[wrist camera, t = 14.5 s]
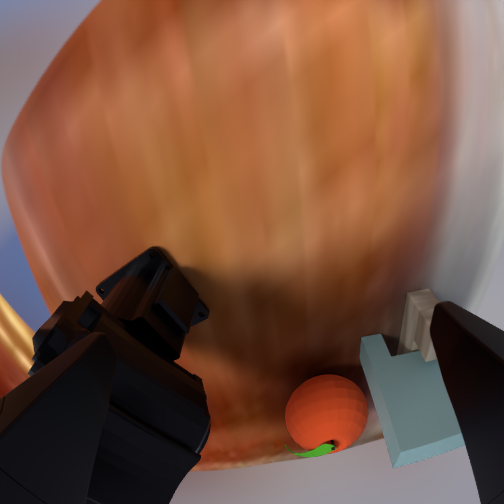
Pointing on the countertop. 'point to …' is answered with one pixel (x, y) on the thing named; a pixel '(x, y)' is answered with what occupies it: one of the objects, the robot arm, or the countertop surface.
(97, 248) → the countertop surface
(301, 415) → the clementine
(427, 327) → the birch slotted plate
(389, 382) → the teal slotted plate
